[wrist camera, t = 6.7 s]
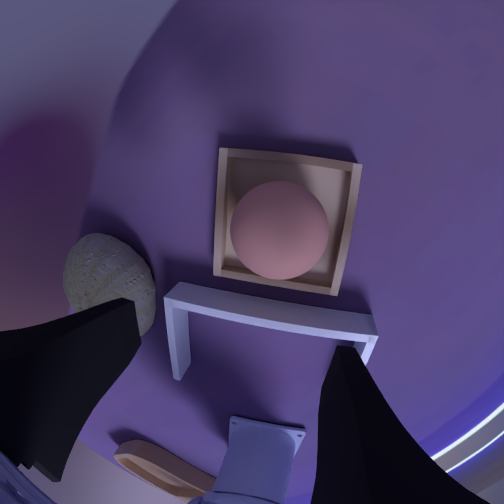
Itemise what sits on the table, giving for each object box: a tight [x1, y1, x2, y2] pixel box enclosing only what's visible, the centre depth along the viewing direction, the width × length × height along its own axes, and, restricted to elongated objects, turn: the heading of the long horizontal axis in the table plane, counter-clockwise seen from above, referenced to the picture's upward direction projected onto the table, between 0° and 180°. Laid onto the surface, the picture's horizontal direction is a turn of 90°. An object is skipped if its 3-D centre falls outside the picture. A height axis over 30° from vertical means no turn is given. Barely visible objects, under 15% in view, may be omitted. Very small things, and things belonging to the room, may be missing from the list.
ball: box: [230, 181, 329, 280], centre depth 14 cm, size 5×5×5 cm
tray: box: [213, 148, 362, 296], centre depth 16 cm, size 8×8×1 cm
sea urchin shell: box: [63, 232, 157, 336], centre depth 20 cm, size 9×8×8 cm
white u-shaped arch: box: [164, 282, 378, 381], centre depth 19 cm, size 8×14×2 cm, turn 85°
